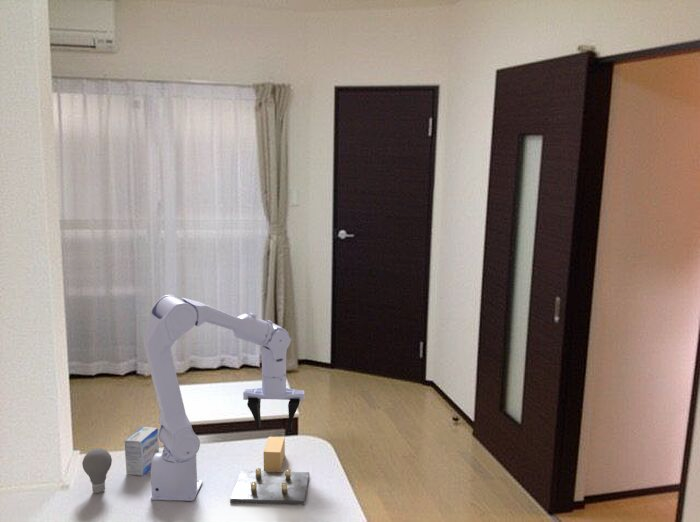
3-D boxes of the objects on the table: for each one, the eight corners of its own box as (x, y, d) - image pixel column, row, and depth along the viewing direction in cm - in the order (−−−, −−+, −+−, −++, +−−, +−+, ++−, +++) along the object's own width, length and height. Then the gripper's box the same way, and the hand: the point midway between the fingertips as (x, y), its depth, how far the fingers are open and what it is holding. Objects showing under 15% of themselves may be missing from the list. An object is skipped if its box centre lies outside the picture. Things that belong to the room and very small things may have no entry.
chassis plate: (230, 502, 134) (230, 490, 134) (241, 474, 146) (241, 462, 146) (303, 505, 134) (304, 492, 134) (308, 476, 146) (309, 464, 145)
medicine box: (143, 476, 145) (141, 442, 143) (125, 474, 145) (123, 440, 144) (159, 460, 152) (158, 427, 151) (143, 458, 153) (141, 425, 152)
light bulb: (106, 481, 142) (104, 440, 140) (117, 491, 138) (115, 450, 136) (79, 491, 138) (77, 449, 136) (90, 502, 134) (88, 459, 132)
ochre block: (263, 471, 148) (263, 451, 147) (268, 455, 156) (268, 436, 155) (280, 471, 148) (280, 452, 147) (284, 455, 156) (284, 436, 155)
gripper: (306, 368, 152) (305, 420, 154) (246, 367, 152) (247, 419, 155) (303, 379, 145) (302, 433, 147) (241, 377, 145) (242, 432, 148)
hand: (274, 427), depth 150 cm, fingers open, 7 cm apart
